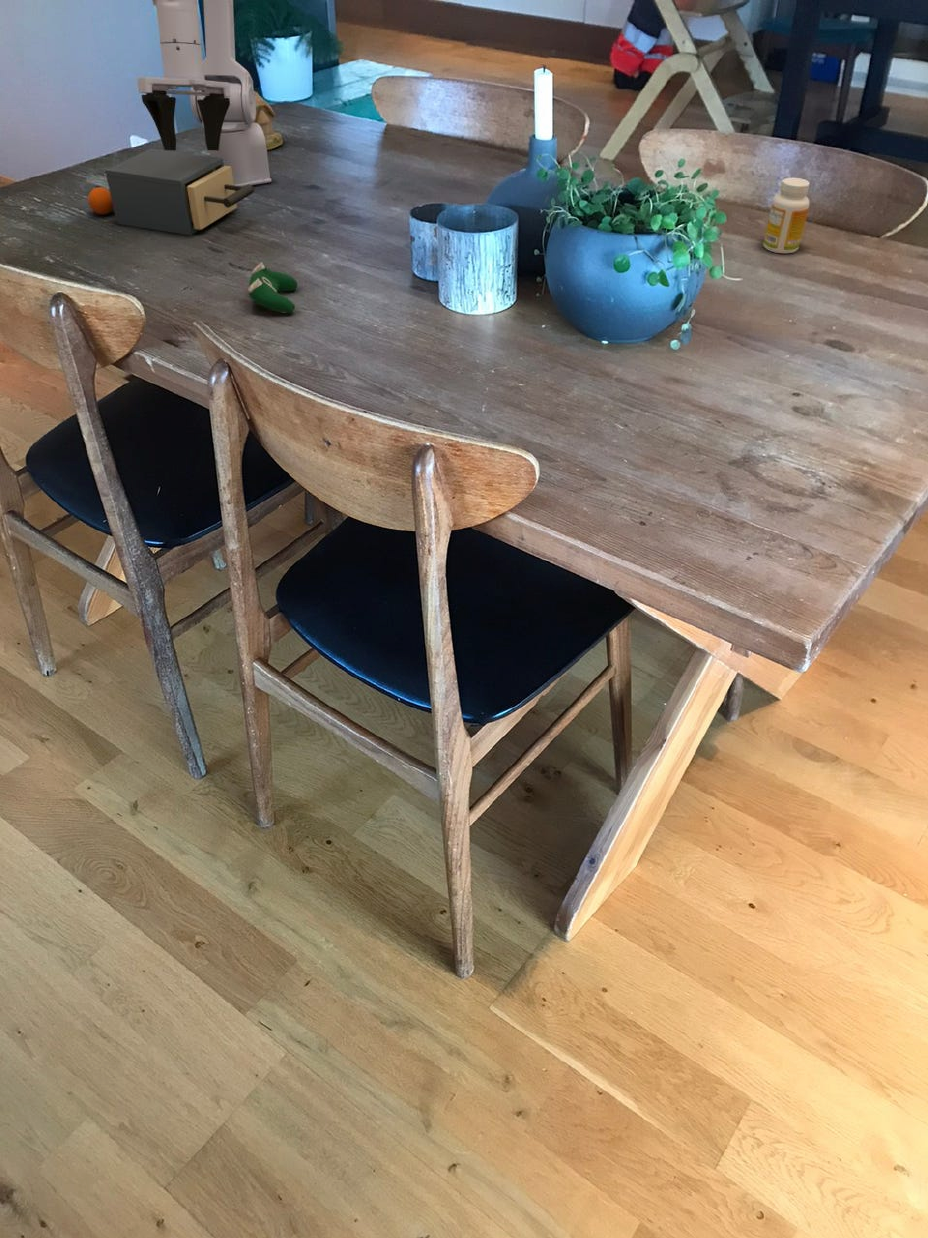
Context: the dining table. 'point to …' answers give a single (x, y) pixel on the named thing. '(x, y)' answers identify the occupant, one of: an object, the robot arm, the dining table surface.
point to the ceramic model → (266, 122)
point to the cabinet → (157, 189)
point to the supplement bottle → (787, 216)
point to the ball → (100, 200)
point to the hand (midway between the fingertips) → (192, 150)
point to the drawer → (213, 196)
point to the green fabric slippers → (271, 289)
